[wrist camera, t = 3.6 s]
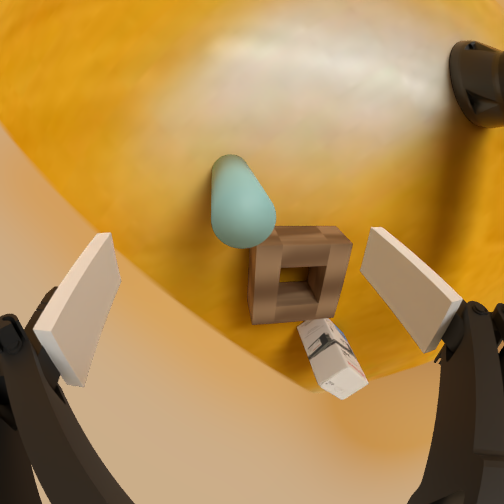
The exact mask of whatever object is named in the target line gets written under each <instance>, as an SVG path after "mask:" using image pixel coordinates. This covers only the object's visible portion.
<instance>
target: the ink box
mask: <svg viewBox="0 0 504 504" xmlns="http://www.w3.org/2000/svg"><path fill="white" fill-rule="evenodd" d="M297 330H298V332H299V335H300V338H301V340H302V343H303V345H304V348H305V350H306V353H307V356H308V358H309V361H310V364H311V366H312V369H313V372H314V374H315V377H316V380H317V383H318V385H319V386H320V387H321V388H323V389H324V390H326V391H328V392H330V393H331V394H333V395H335V396H336V397H338V398H340V399H341V400H343V399H345V398H347V397H349V396H350V395H352V394H353V393H355V392H356V391H358V390H360V389H361V388H363V387H364V386H366V385H367V384H369V383H368V381H367V379H366V377H365V375H364V373H363V371H362V369H361V367H360V365H359V363H358V361H357V359H356V357H355V355H354V353H353V351H352V349H351V347H350V345H349V343H348V341H347V339H346V338H345V336H344V334H343V332H342V331H341V330H340V329H339V328H338V327H337V326H336V325H335V324H334V323H332V322H331V321H330V320H329V319H328V318H324V319H315V320H306V321H304V322H303V323H302V324H300V325H299V326H297Z"/></svg>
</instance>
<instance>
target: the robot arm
mask: <svg viewBox="0 0 504 504" xmlns="http://www.w3.org/2000/svg"><path fill="white" fill-rule="evenodd" d="M450 74H451V81H452V85H453V89H454V93H455V96H456V98H457V101H458V103H459V105H460V107H461V109H462V111H463V112H464V114H465V115H466V117H467V118H468V119H469V120H470V121H471V122H472V123H474V124H475V125H478V126H481V127H485V128H496V127H503V126H504V51H501V50H498V49H496V48H493V47H491V46H488V45H485V44H483V43H480V42H477V41H460V42H458V43H457V44H456V45H455V46H454V47H453V49H452V52H451V57H450ZM360 272H361V273H362V274H363V275H364V276H365V278H366V279H367V280H368V281H369V282H370V284H371V285H372V286H373V287H374V289H375V290H376V291H377V292H378V294H379V295H380V296H381V297H382V299H383V300H384V301H385V302H386V304H387V305H388V306H389V307H390V309H391V310H392V311H393V313H394V314H395V315H396V317H397V318H398V319H399V320H400V322H401V323H402V324H403V326H404V327H405V328H406V330H407V331H408V333H409V334H410V335H411V337H412V338H413V339H414V341H415V342H416V343H417V345H418V346H419V348H420V349H421V350H422V352H423V353H427V352H430V351H432V350H435V349H436V347H437V346H438V344H439V342H440V341H441V339H442V340H443V341H444V343H445V344H444V346H443V347H442V349H441V350H440V352H439V354H438V355H437V357H436V358H435V360H434V363H436V362H437V360H438V359H439V358H441V361H440V362H439V364H440V365H441V374H440V387H439V398H438V405H437V413H436V420H435V426H434V432H433V437H432V442H431V447H430V452H429V456H428V460H427V464H426V468H425V472H424V476H423V479H422V482H421V484H420V486H419V488H418V489H417V490H416V491H415V492H414V494H413V495H412V496H411V498H410V499H409V501H408V503H407V504H504V346H503V348H502V349H501V351H500V353H498V349H497V348H498V346H499V345H500V343H501V342H502V340H503V341H504V304H502V303H498V304H497V305H496V307H495V309H494V311H493V312H488V310H487V309H486V308H485V307H484V306H483V305H482V304H480V303H478V302H475V301H469V302H468V303H466V302H465V301H464V300H463V299H462V298H461V297H460V296H459V295H458V294H457V293H456V292H455V291H454V290H453V289H452V288H451V287H450V286H449V285H448V284H447V283H446V282H445V281H444V280H443V279H442V278H441V277H440V276H439V275H437V274H436V273H435V272H434V271H433V270H432V269H431V268H430V267H429V266H427V265H426V264H425V263H424V262H423V261H422V260H421V259H420V258H418V257H417V256H416V255H415V254H414V253H413V252H412V251H410V250H409V249H408V248H407V247H406V246H404V245H403V244H402V243H401V242H400V241H398V240H397V239H396V238H395V237H394V236H392V235H391V234H390V233H389V232H387V231H386V230H385V229H384V228H382V227H371V229H370V234H369V238H368V242H367V246H366V250H365V254H364V258H363V262H362V266H361V269H360ZM120 283H121V278H120V274H119V270H118V265H117V260H116V256H115V251H114V246H113V240H112V235H111V233H97V234H96V236H95V237H94V238H93V239H92V241H91V242H90V243H89V245H88V246H87V247H86V249H85V250H84V251H83V253H82V254H81V255H80V257H79V258H78V259H77V261H76V262H75V264H74V265H73V266H72V268H71V269H70V271H69V272H68V273H67V275H66V277H65V278H64V279H63V281H62V282H61V284H60V285H59V287H54V288H53V289H51V290H50V291H49V292H48V293H47V294H46V295H45V297H44V298H43V299H42V301H41V304H39V306H38V308H37V309H36V310H37V311H35V312H34V314H33V315H32V317H31V319H30V320H29V322H28V324H27V326H26V327H25V329H23V328H22V326H21V324H20V322H19V320H18V318H17V316H16V315H14V314H6V315H3V316H1V317H0V504H42V502H41V499H40V496H39V493H38V489H37V486H36V483H35V479H34V475H33V471H32V467H33V469H34V471H35V473H36V475H37V477H38V480H39V482H40V483H41V486H42V488H43V489H44V491H45V493H46V495H47V497H48V498H49V500H50V502H51V504H134V503H133V501H132V500H131V499H130V498H129V496H128V495H127V494H126V493H125V492H124V490H123V489H122V488H121V487H120V485H119V484H118V483H117V482H116V480H115V479H114V478H113V476H112V475H111V473H110V472H109V471H108V469H107V468H106V466H105V465H104V463H103V462H102V461H101V459H100V458H99V456H98V455H97V453H96V452H95V450H94V448H93V447H92V445H91V444H90V442H89V440H88V439H87V437H86V435H85V433H84V432H83V430H82V428H81V426H80V425H79V423H78V421H77V419H76V418H75V415H74V414H73V412H72V410H71V408H70V406H69V404H68V401H67V399H66V397H65V395H64V393H63V391H62V389H61V387H60V386H59V384H58V379H59V376H60V375H61V376H62V378H63V379H64V381H65V382H66V384H67V385H73V386H79V387H84V386H85V383H86V379H87V376H88V372H89V369H90V366H91V362H92V359H93V356H94V353H95V350H96V347H97V344H98V341H99V338H100V335H101V332H102V329H103V327H104V324H105V321H106V318H107V315H108V313H109V311H110V307H111V305H112V302H113V300H114V298H115V295H116V293H117V290H118V288H119V286H120ZM31 465H32V466H31Z"/></svg>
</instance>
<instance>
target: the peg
mask: <svg viewBox="0 0 504 504" xmlns="http://www.w3.org/2000/svg"><path fill="white" fill-rule="evenodd" d="M275 223H276V211H275V208H274V205H273V203H272V202H271V200H270V199H269V197H268V196H267V194H266V192H265V191H264V189H263V188H262V186H261V185H260V183H259V182H258V180H257V179H256V177H255V176H254V174H253V173H252V171H251V170H250V168H249V167H248V165H247V164H246V162H245V161H244V160H243V159H242V158H241V157H239V156H237V155H225V156H222V157H220V158H219V159H218V160H217V161H216V162H215V163H214V165H213V168H212V189H211V224H212V228H213V231H214V233H215V235H216V236H217V237H218V238H219V239H220V240H221V241H222V242H223V243H224V244H226V245H228V246H231V247H234V248H241V249H244V248H251V247H254V246H256V245H259V244H260V243H262V242H263V241H265V240H266V239H267V238H268V237H269V235H270V234H271V233H272V231H273V229H274V226H275Z"/></svg>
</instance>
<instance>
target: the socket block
mask: <svg viewBox="0 0 504 504" xmlns="http://www.w3.org/2000/svg"><path fill="white" fill-rule="evenodd" d="M352 245H353V244H352V243H351V242H350V240H349V239H348V238H347V237H346V236H345V235H344V234H343V233H342V232H341V231H340V230H339V229H338V228H337V227H336V226H274V229H273V231H272V233H271V234H270V235H269V237H268V238H267V239H266V240H265V241H263V242H262V243H260V244H259V245H256V246H254V247H251V248H250V250H249V273H248V296H247V301H248V306H249V311H250V316H251V321H252V325H257V324H271V323H284V322H295V321H306V320H315V319H324V318H333V317H334V314H335V311H336V308H337V304H338V301H339V297H340V293H341V290H342V286H343V282H344V278H345V274H346V270H347V266H348V262H349V258H350V254H351V249H352ZM289 267H309V273H308V279H307V281H298V282H279V278H280V269H281V268H289Z"/></svg>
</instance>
